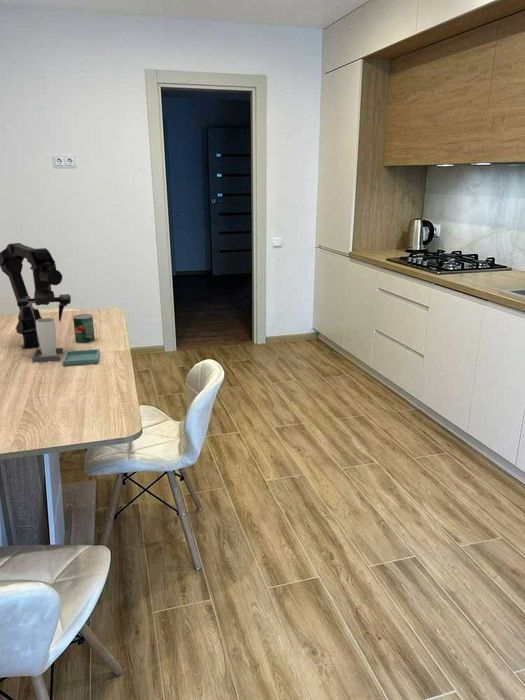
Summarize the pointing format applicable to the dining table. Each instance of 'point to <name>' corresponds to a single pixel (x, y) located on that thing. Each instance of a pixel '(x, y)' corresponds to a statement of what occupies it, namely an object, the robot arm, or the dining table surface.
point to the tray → (81, 357)
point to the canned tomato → (83, 328)
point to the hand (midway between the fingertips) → (47, 322)
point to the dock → (46, 358)
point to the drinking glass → (46, 336)
